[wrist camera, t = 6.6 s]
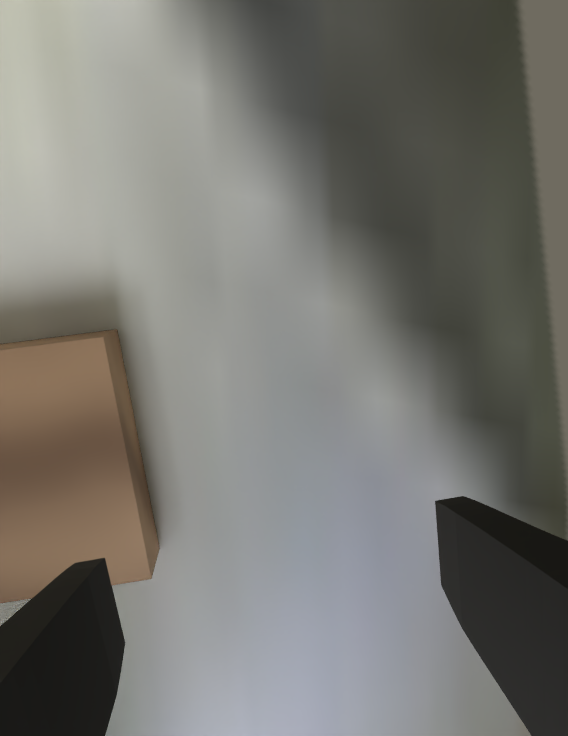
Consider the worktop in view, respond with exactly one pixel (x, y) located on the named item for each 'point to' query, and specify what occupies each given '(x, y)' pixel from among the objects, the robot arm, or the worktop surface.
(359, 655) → the worktop surface
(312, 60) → the worktop surface
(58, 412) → the brown wooden board
